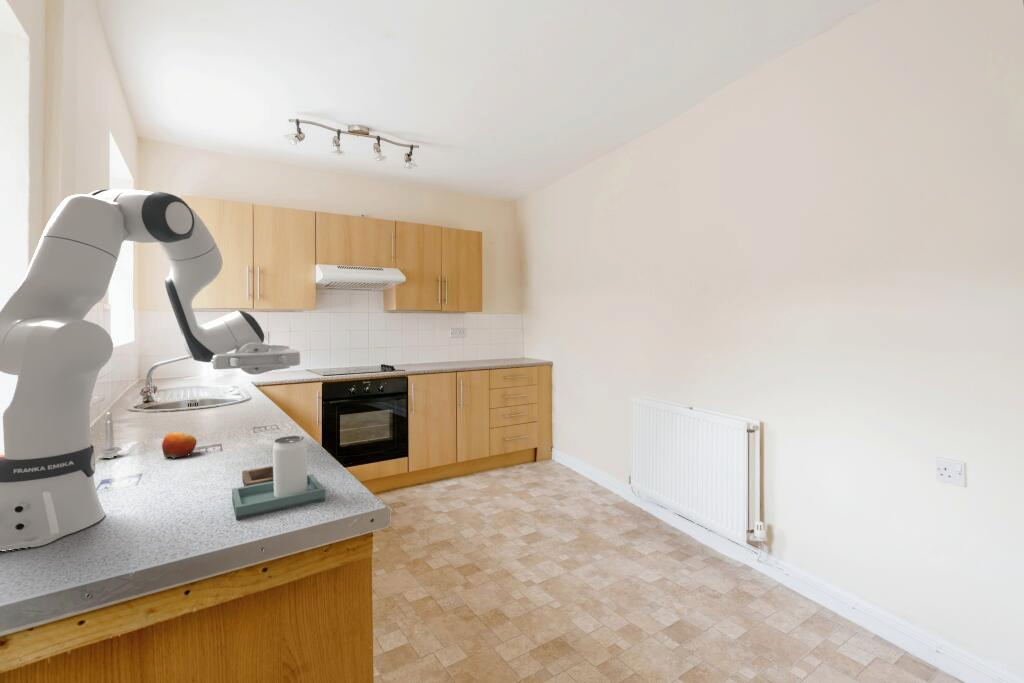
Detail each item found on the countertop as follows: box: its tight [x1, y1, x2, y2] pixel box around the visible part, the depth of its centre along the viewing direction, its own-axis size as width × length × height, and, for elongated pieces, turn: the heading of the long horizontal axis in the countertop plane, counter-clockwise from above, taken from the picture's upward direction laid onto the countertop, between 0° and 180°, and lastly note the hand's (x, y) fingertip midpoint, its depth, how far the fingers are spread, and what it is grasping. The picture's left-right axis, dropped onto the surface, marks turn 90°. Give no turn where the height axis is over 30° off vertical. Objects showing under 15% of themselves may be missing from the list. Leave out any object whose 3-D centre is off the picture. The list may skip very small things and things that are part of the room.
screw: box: [98, 411, 122, 458], centre depth 127 cm, size 13×5×5 cm
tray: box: [231, 473, 326, 521], centre depth 95 cm, size 16×12×2 cm
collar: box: [241, 465, 273, 487], centre depth 106 cm, size 10×10×2 cm
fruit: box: [161, 431, 197, 460], centre depth 128 cm, size 8×8×8 cm
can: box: [272, 435, 308, 498], centre depth 96 cm, size 6×6×12 cm
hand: (261, 361), depth 114 cm, fingers open, 8 cm apart
